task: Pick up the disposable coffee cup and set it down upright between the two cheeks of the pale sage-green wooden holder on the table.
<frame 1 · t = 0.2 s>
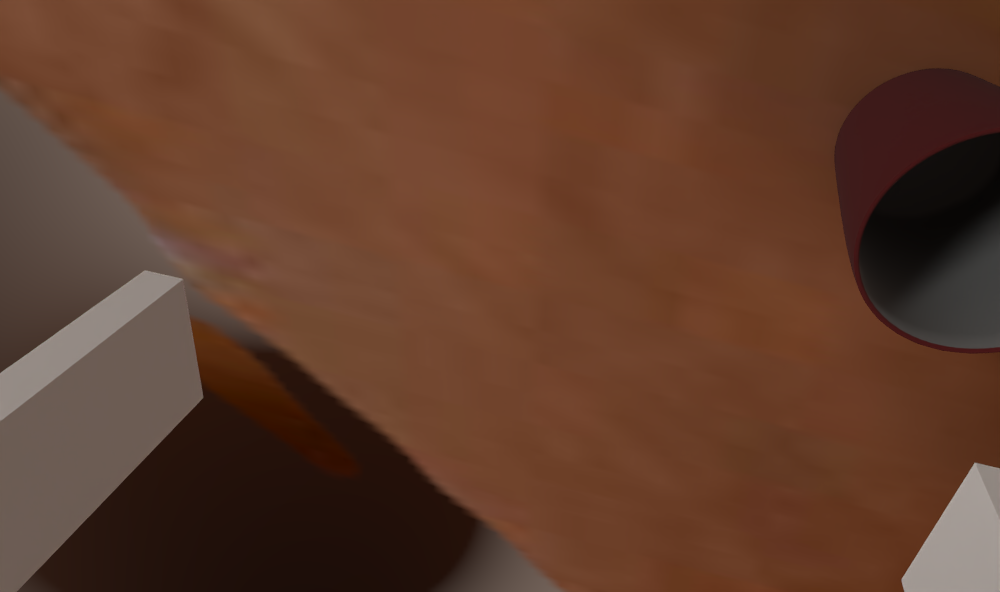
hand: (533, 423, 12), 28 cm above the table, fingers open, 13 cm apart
mug: (934, 169, 35), on the table
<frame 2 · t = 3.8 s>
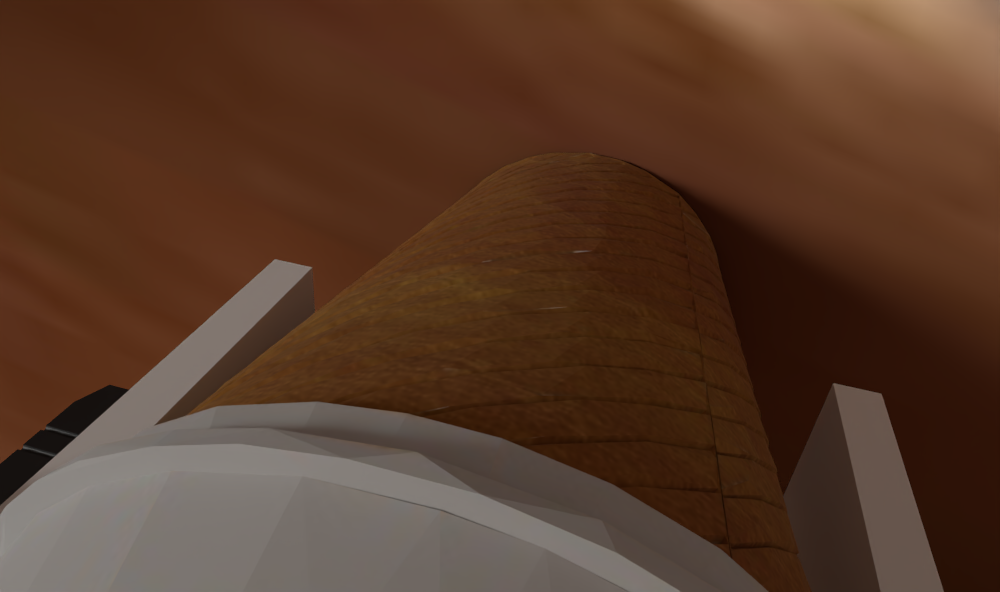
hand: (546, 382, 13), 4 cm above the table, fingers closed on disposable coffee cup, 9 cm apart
disposable coffee cup: (576, 280, 16), on the table, touching gripper
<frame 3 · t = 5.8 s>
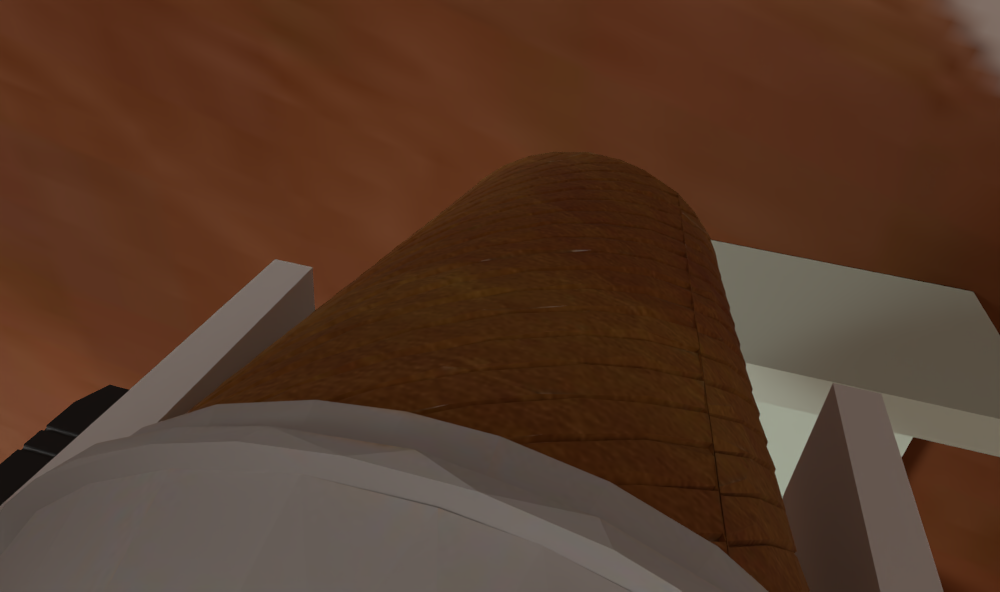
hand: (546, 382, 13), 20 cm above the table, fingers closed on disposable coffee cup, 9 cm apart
holder: (762, 398, 36), on the table
disposable coffee cup: (575, 279, 16), point 16 cm above the table, touching gripper
when the fingers open (6 cm above the table, at t = 9.1 s): disposable coffee cup stays where it is, resting on holder.
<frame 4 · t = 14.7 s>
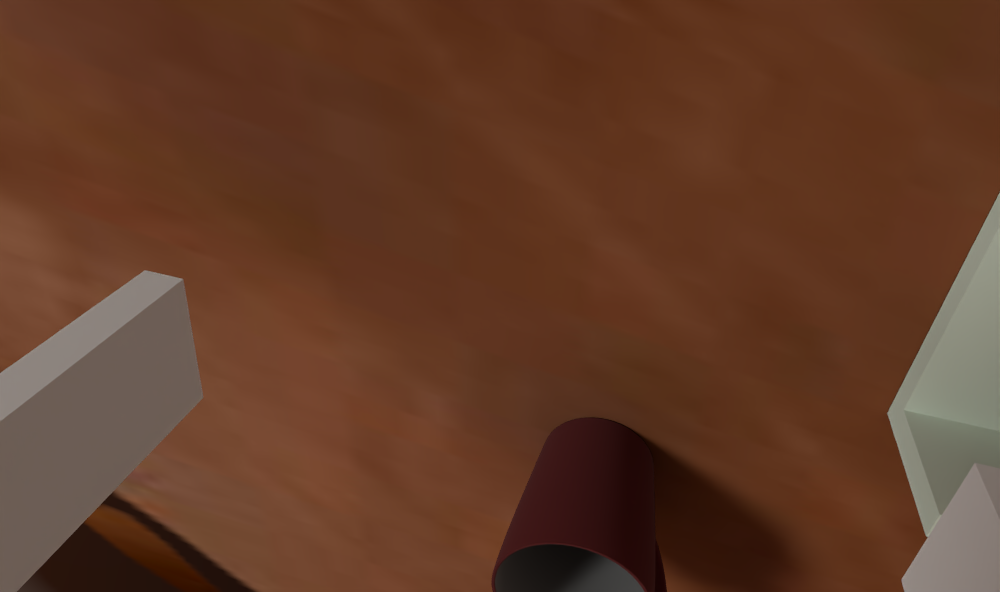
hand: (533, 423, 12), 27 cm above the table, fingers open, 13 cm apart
mug: (613, 472, 48), on the table
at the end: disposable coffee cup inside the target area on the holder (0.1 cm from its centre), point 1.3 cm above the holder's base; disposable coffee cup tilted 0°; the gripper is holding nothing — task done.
